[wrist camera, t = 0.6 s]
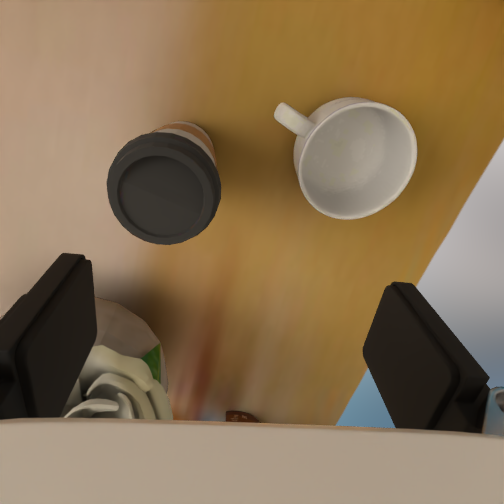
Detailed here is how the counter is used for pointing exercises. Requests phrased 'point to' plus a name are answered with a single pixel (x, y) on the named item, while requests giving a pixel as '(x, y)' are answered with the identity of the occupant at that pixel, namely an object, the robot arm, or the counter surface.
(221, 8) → the counter surface
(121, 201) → the coffee cup
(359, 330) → the counter surface
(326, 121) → the teacup
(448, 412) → the robot arm
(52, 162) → the counter surface
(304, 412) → the counter surface
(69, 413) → the flower arrangement
